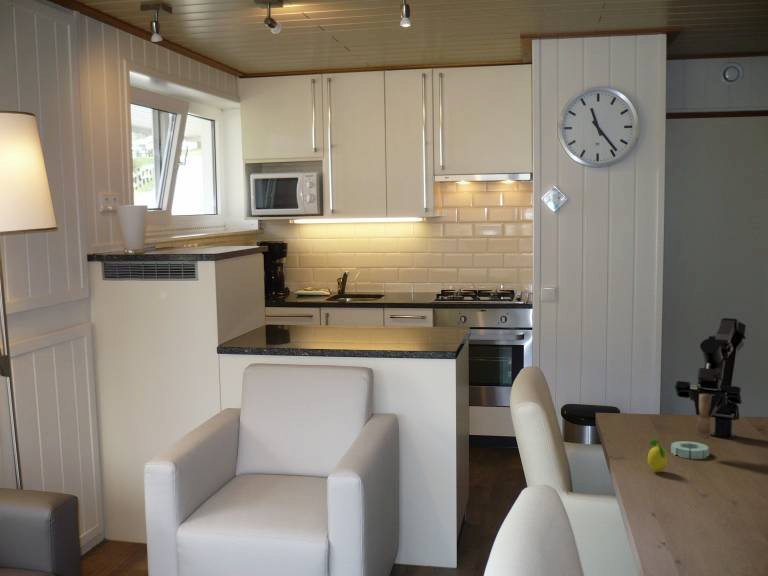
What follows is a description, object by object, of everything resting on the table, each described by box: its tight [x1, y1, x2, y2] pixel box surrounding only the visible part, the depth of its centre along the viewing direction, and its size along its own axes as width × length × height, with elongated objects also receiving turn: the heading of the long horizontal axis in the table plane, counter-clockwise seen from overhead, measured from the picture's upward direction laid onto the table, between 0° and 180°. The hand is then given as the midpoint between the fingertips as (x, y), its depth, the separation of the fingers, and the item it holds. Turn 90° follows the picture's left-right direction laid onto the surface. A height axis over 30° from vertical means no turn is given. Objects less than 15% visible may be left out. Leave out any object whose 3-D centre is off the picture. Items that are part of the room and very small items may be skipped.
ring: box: [670, 440, 710, 460], centre depth 255 cm, size 10×10×2 cm
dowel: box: [697, 394, 712, 440], centre depth 250 cm, size 3×3×13 cm
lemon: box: [647, 438, 669, 473], centre depth 237 cm, size 7×6×10 cm
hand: (703, 415), depth 249 cm, fingers closed on dowel, 3 cm apart
